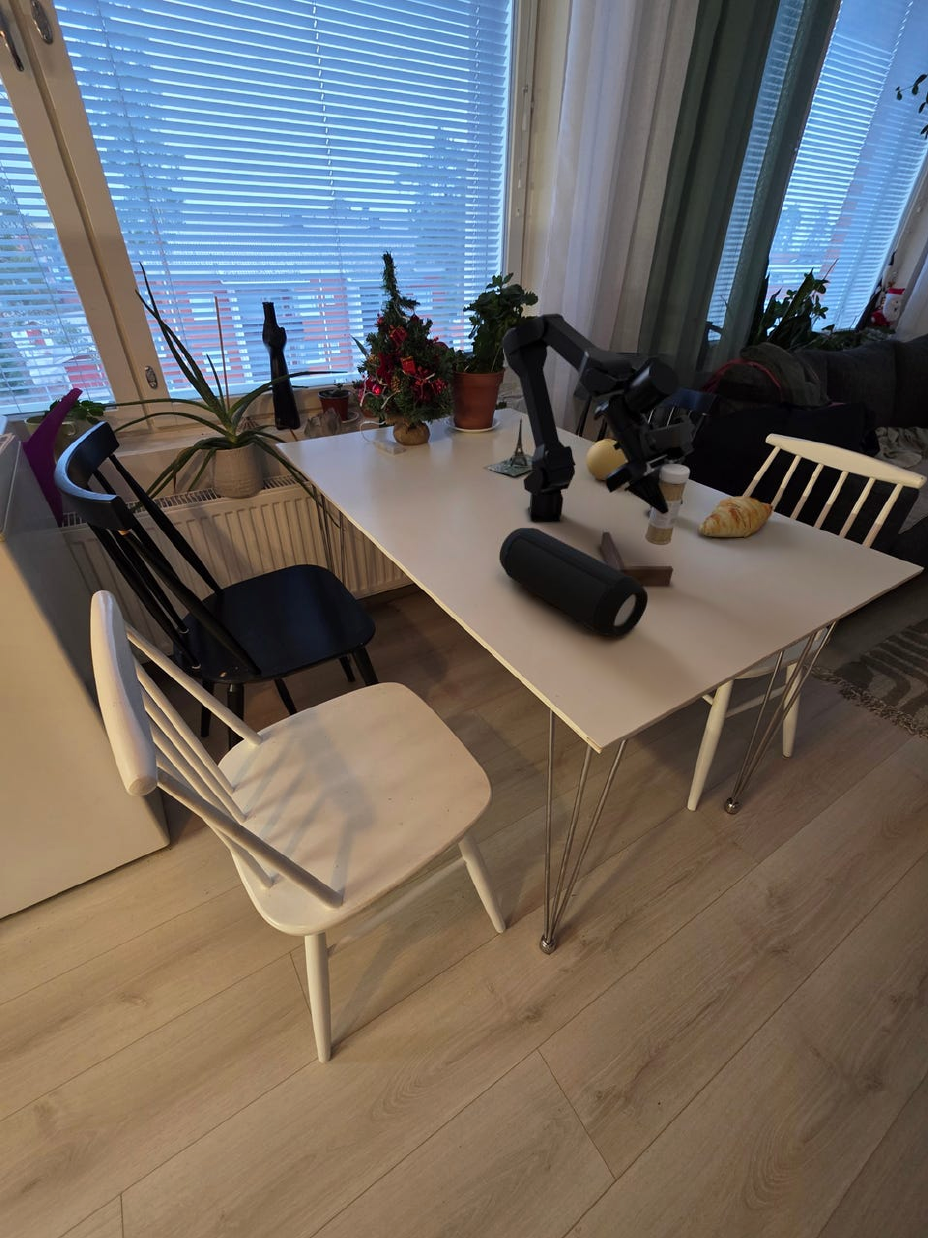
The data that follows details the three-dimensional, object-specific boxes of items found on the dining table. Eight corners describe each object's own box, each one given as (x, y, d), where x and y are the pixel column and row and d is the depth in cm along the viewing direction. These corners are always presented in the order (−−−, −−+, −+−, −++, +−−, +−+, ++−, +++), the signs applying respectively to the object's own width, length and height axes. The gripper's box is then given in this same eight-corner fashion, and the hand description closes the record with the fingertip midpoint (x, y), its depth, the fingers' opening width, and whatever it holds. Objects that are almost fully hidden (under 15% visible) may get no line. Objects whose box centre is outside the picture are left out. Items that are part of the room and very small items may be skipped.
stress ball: (623, 487, 131) (631, 447, 125) (583, 484, 133) (589, 445, 127) (621, 472, 139) (628, 434, 133) (583, 470, 141) (588, 432, 135)
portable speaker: (644, 628, 84) (657, 574, 78) (603, 652, 80) (614, 597, 74) (533, 564, 101) (537, 516, 95) (494, 581, 96) (496, 532, 90)
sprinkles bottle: (658, 532, 97) (676, 460, 89) (676, 543, 94) (696, 469, 86) (638, 537, 95) (655, 465, 87) (656, 548, 92) (675, 474, 84)
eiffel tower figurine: (514, 478, 136) (517, 425, 128) (486, 468, 142) (487, 417, 134) (551, 464, 144) (556, 414, 136) (523, 455, 150) (526, 406, 142)
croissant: (705, 558, 109) (730, 535, 102) (677, 521, 112) (700, 496, 106) (771, 533, 117) (799, 510, 110) (743, 499, 121) (768, 475, 114)
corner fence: (616, 586, 95) (620, 569, 92) (600, 547, 106) (602, 531, 104) (668, 586, 94) (673, 569, 92) (646, 547, 106) (650, 531, 104)
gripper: (635, 410, 78) (684, 503, 78) (698, 390, 88) (741, 472, 88) (584, 449, 87) (628, 532, 87) (646, 427, 97) (686, 501, 98)
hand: (673, 508), depth 90 cm, fingers closed on sprinkles bottle, 4 cm apart
